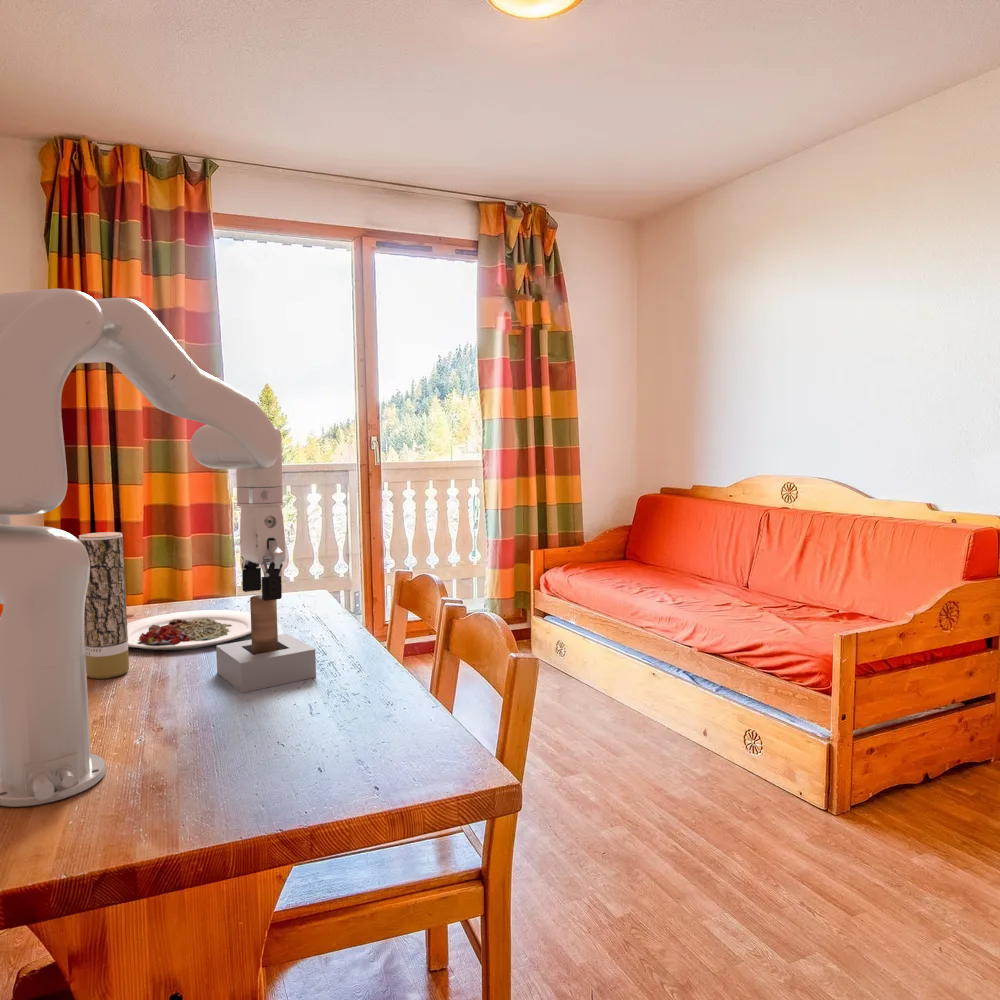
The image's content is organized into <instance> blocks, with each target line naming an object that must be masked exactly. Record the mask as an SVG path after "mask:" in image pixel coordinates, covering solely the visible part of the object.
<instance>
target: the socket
mask: <svg viewBox="0 0 1000 1000" xmlns="http://www.w3.org/2000/svg"><path fill="white" fill-rule="evenodd" d="M215 647H216V650H215V651H216V652H215V654H216V674H218V675H219V676H220V677H221V678H223V679H224V680H225V681H227V682H228V683H229V684H230V685H231V686H232V687H234V688H235V689H236V690H237V691H239V692H240V693H241V694H243V693H249V692H252V691H257V690H261V689H267V688H271V687H276V686H281V685H284V684H291V683H295V682H300V681H302V680H304V681H305V680H308V679H314V678H316V677H317V663H316V661H317V659H316V657H317V656H316V648H314V647H312V646H310V645H308V644H307V643H305V642H303V641H301V640H299V639H298V638H296V637H294V636H292V635H290V634H289V633H282V634H278V651H272V652H267V653H261V654H256V655H253V654H252V639H246V640H241V641H235V642H230V643H229V642H227V643H222V644H216V645H215Z"/></svg>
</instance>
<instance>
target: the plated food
mask: <svg viewBox="0 0 1000 1000" xmlns="http://www.w3.org/2000/svg"><path fill="white" fill-rule="evenodd" d="M127 632H128V648H135V649H136V648H137V649H138V648H139V649H143V650H145V649H146V650H153V651H154V650H156V651H157V650H158V651H159V650H160V651H169V650H171V651H173V650H176V651H177V650H187V649H189V650H190V649H196V648H203V647H208V646H209V647H210V646H214V645H215V646H216V645H220V644H225V643H226V642H227V643H228V642H229V641H233V640H235V639H238V638H242V637H245V636H247V635H249V634H251V612H248V611H242V610H230V609H204V610H203V609H202V610H201V609H200V610H189V611H178V612H172V613H171V612H170V613H165V614H159V615H152V616H148V617H144V618H140V619H137V620H133V621H130V622H127Z"/></svg>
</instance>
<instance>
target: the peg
mask: <svg viewBox="0 0 1000 1000" xmlns="http://www.w3.org/2000/svg"><path fill="white" fill-rule="evenodd" d="M277 600H278V599H276V600H268V601H264V600H263V599H262V594H258V595H253V596H250V598H249V601H250V602H249V603H250V604H249V605H250V613H251V633H250V634H251V635H250V636H251V640H252V654H253V655H256V654H261V653H267V652H272V651H278V635H279V634H278V604H277V603H278V602H277Z"/></svg>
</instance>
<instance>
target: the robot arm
mask: <svg viewBox="0 0 1000 1000" xmlns="http://www.w3.org/2000/svg"><path fill="white" fill-rule="evenodd" d="M93 363H110V364H112V365H113V366H114V367H115V368H116V369H117V370H118V371H119V372H120V373H121V374H122V375H123V376H124V377H125V378H126V379H127V380H128V381H129V382H130V383H131V385H133V386H134V388H136V389H137V390H138V391H139V392H140V393H141V395H143V397H145V399H146V400H147V401H148V402H149V403H150V404H151V405H152V406H153V407H155V408H156V409H158V410H161V411H163V412H165V413H168V414H170V415H173V416H176V417H179V418H182V419H186V420H190V421H193V422H198V423H201V424H204V425H202V426H200V427H199V428H198V429H196V431H195V432H194V433H193V434H192V437H190V438H191V439H190V446H189V448H190V452H191V455H192V456H193V458H194V459H195V460H196V462H197V463H199V464H200V465H202V466H204V467H206V468H210V469H214V470H215V469H216V470H217V469H218V470H219V469H220V470H236V476H235V477H236V479H235V480H236V506H237V507H240V521H239V522H240V523H239V546H240V547H239V548H240V555H241V556H240V557H241V559H242V560H241V574H242V575H241V576H242V577H241V582H242V591H243V592H245V593H249V592H259V591H260V590H261V595H262V599H263V600H264V601H268V600H276V599H277V600H280V599H281V600H282V597H283V595H282V594H283V593H282V591H283V590H282V586H283V585H282V575H283V571H282V568H283V563H284V562H285V561H286V559H287V556H286V554H287V553H286V552H287V551H286V539H285V538H286V536H285V526H284V525H285V524H284V515H283V511H282V506H283V499H284V498H283V449H282V448H283V447H282V445H283V443H282V433H281V430H280V429H279V428H278V427H277V426H274V424H273V422H272V421H271V419H270V418H269V416H267V414H266V413H265V412H264V411H263V409H262V408H261V406H259V405H258V404H257V403H256V402H255V401H254V400H253V399H252V398H251V397H250V396H248V395H246V394H245V393H244V392H242V391H240V390H238V389H236V388H235V387H233V386H231V385H229V384H228V383H226V382H224V381H222V380H221V379H219V378H217V377H215V376H213V375H211V374H209V373H208V372H206V371H204V370H202V369H201V368H199V366H198V365H197V364H196V363H195V362H194V360H193V359H192V358H191V357H190V356H189V354H187V353H186V352H185V350H184V349H183V348H182V347H181V345H180V344H179V343H178V342H177V341H176V340H175V339H174V337H173V336H172V334H171V333H170V332H169V331H168V330H167V329H166V327H165V326H164V325H163V324H162V323H161V321H160V320H159V319H158V318H157V317H156V316H155V314H154V313H153V312H152V311H151V310H150V309H149V308H148V307H147V306H146V305H145V304H144V303H142V302H140V301H138V300H136V299H133V298H130V297H129V298H127V297H107V298H96V299H94V298H93V297H92V296H90V295H89V294H87V293H85V292H82V291H80V290H77V289H71V288H45V289H44V288H43V289H33V290H27V291H16V292H14V291H13V292H5V293H4V292H3V293H0V605H3V607H2V612H1V613H0V806H2V807H11V808H12V807H13V808H15V807H18V808H19V807H20V808H21V807H31V806H39V805H43V804H44V805H45V804H49V803H53V802H56V801H59V800H64V799H67V798H70V797H73V796H75V795H77V794H80V793H82V792H84V791H86V790H88V789H90V788H92V787H93V786H94V785H96V784H97V783H98V782H99V781H100V780H102V779H103V778H104V777H105V774H106V772H107V771H106V769H107V766H106V765H107V764H106V760H105V759H104V758H103V757H101V756H100V755H97V754H94V753H92V752H91V751H92V750H91V749H92V747H91V732H90V730H91V729H90V714H89V713H90V712H89V711H90V710H89V697H88V693H89V692H88V680H87V679H88V678H87V677H88V675H87V673H86V656H85V639H84V610H85V600H86V593H87V588H88V582H89V575H90V560H89V556H88V553H87V550H86V549H85V547H84V545H83V544H82V543H81V542H80V541H79V538H77V537H76V536H74V535H73V534H71V533H70V532H67V531H65V530H63V529H59V528H56V527H50V526H44V525H43V526H40V525H28V524H27V525H26V524H25V525H23V524H12V522H11V516H37V515H42V514H46V513H49V512H52V511H53V510H55V509H56V508H58V507H59V506H60V505H61V504H62V503H63V502H64V500H65V497H66V495H67V490H68V470H67V460H66V459H67V458H66V448H65V440H64V438H65V437H64V431H63V430H64V429H63V418H62V393H63V389H64V385H65V382H66V381H67V378H68V377H69V376H70V373H71V372H72V371H73V369H75V367H76V365H78V364H93ZM262 574H263V576H262Z"/></svg>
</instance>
